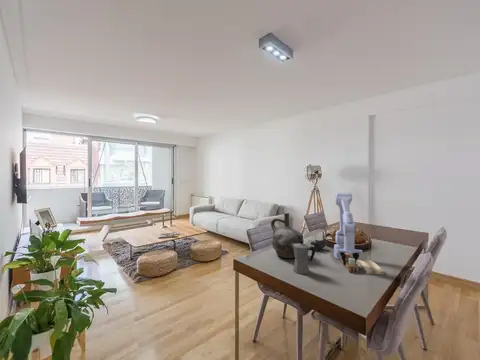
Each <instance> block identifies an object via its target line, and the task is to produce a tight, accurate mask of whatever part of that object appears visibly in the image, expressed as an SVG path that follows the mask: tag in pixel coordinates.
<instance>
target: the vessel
mask: <svg viewBox="0 0 480 360" xmlns="http://www.w3.org/2000/svg"><path fill="white" fill-rule="evenodd" d="M283 214H284V218H282V217H274V218H272V220H271V221H270V227H271V229H272V231H273V232H272V234H273V235H272V240H271V244H272V248H273V249H274V250H275V253H276V255H278V256H279V257H280V258H283V259H284V258H285V259H294V258H295V256H294V249H293V246H292V245H291V244H294V243H295V244H298V243H300V241H303V242H302V244H305V243H304V235H303V233H301V232H300V231H299V230H297V229H296V228H292V227H291V226H290V213H289V212H284V213H283ZM276 222H280V223H283V224H284V227H279V228H277V227H276V226H275V223H276Z"/></svg>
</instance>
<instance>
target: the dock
mask: <svg viewBox="0 0 480 360" xmlns="http://www.w3.org/2000/svg"><path fill="white" fill-rule="evenodd" d="M356 264H357V265H358V267H359V268H361V269H362V270H363V271H364V272H365V274H373V275H386V274H387V272H386V271H385V270H384V269H383V268H382V267H380V265H378V264H377V263H376V262H374V261H373V260H372V259H359V258H358V259H357V261H356Z"/></svg>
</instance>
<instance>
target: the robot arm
mask: <svg viewBox="0 0 480 360" xmlns="http://www.w3.org/2000/svg"><path fill="white" fill-rule="evenodd" d="M334 199H335V205H336V206H338V210H339V211H338V216H339V217H338V218H339V230H337V231H336V232H335V237H334V238H335V243H336V244H333V256H334V257H335V258H336V259H337V260H341V258H342V261H343V264H342V266H343V265H345V259H346V255H345V253H349V254H352V255H351V256H352V258H354V259H355V263H356V261H357V259H359V258H360V255H363V250H362V249H356V248H355V235H356V234H355V233H356V232H357V226H356V223H355V221H354V217H353V214H352V213H351V210H350V209H351V208H350V205H351V203H352V202H353V201H352V200H353V195H352V193H351V192H336V193H335V195H334ZM356 264H357V263H356Z"/></svg>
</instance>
